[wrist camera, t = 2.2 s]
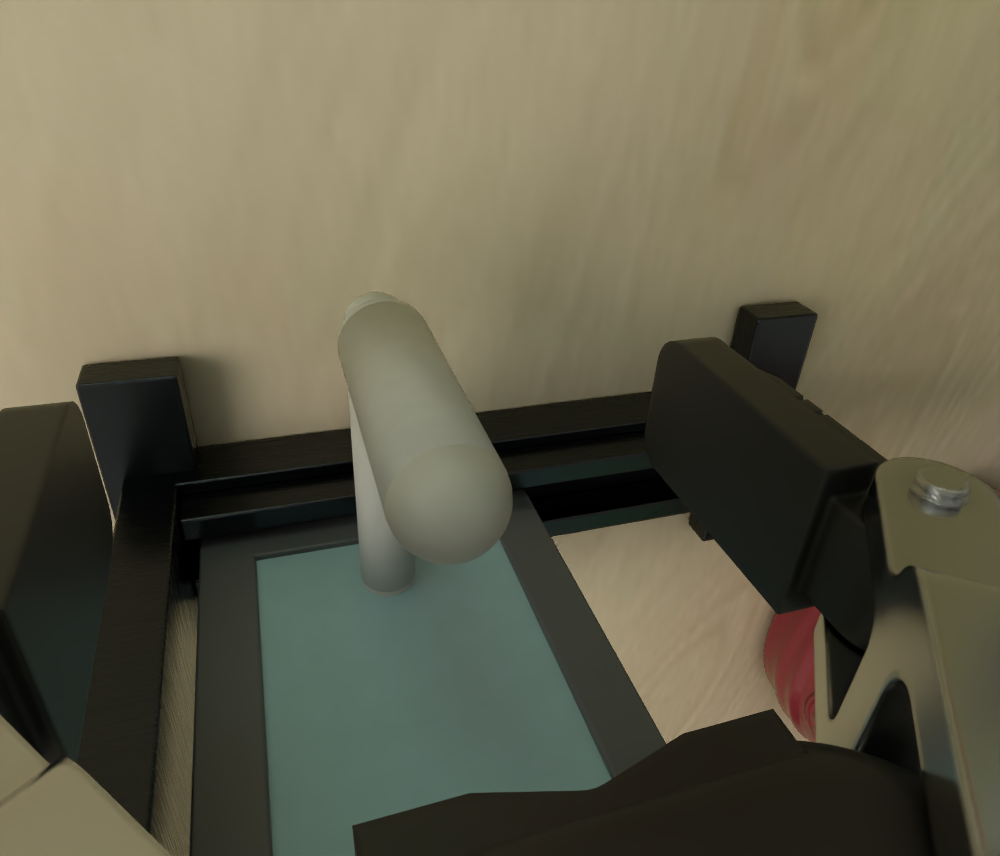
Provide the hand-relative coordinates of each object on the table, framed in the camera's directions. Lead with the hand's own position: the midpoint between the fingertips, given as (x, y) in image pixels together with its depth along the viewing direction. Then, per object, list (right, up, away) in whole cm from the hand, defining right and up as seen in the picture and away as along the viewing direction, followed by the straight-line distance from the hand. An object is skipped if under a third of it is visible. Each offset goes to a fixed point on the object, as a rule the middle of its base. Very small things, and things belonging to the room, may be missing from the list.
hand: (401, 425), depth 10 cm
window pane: (-2, +1, +6) cm, 7 cm away
